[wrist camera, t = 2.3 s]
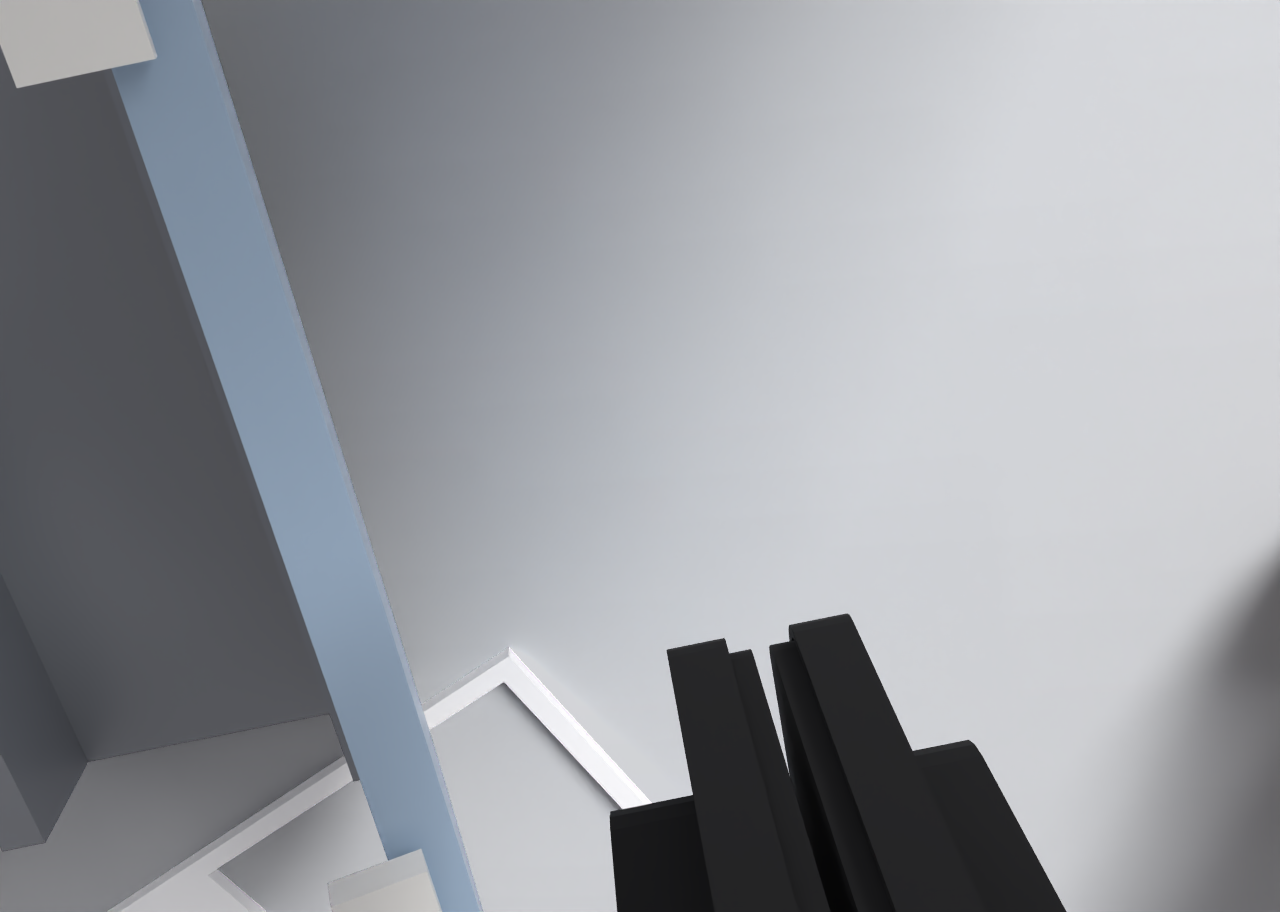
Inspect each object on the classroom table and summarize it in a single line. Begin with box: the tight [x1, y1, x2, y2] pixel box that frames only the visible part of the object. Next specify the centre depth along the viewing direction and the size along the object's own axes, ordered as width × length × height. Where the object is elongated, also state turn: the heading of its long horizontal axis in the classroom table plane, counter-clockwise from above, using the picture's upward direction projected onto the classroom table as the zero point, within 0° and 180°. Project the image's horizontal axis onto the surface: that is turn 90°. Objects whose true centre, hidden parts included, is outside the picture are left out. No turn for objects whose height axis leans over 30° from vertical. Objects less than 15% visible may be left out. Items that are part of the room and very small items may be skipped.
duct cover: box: [0, 0, 483, 912], centre depth 22 cm, size 26×12×2 cm
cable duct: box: [0, 46, 360, 851], centre depth 30 cm, size 26×11×4 cm, turn 10°
